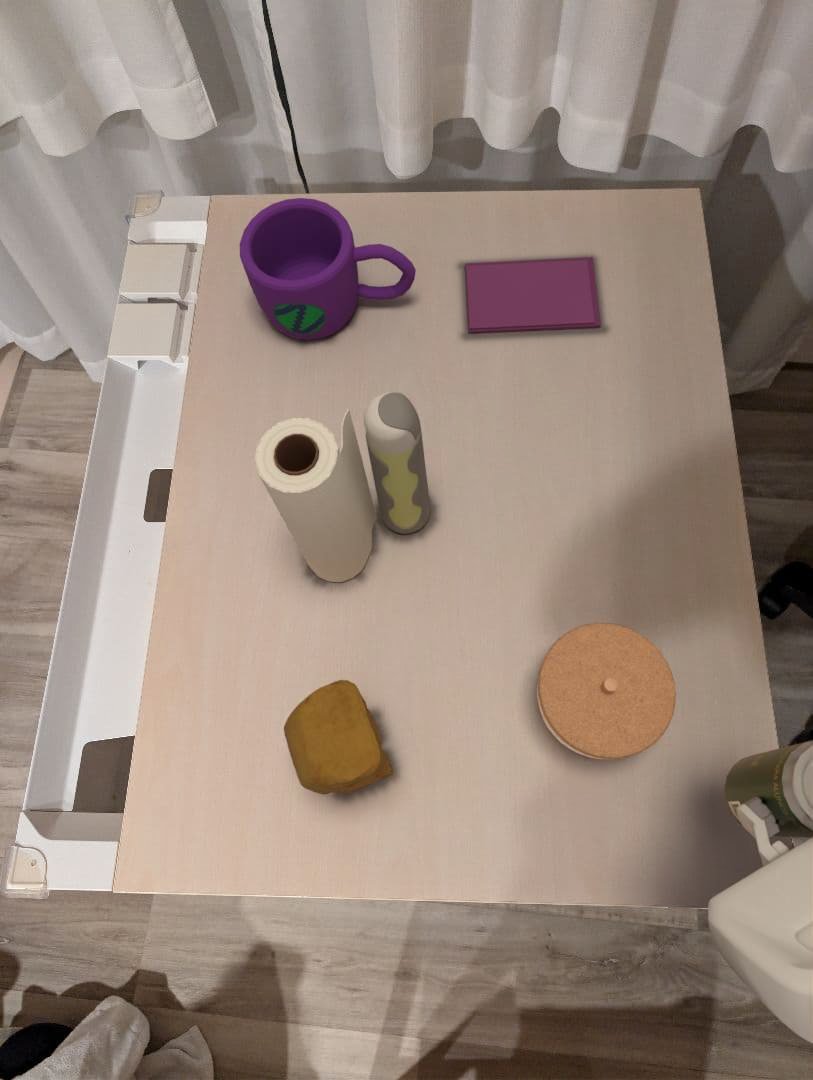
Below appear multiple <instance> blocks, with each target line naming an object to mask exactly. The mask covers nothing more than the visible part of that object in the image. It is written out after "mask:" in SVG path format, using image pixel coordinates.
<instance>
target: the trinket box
mask: <svg viewBox="0 0 813 1080" xmlns="http://www.w3.org/2000/svg"><path fill="white" fill-rule="evenodd" d="M674 679H675V678H674V675H673V673H672V671H671V668H670V665H669V664H668V661H667V660H666V658H665V657H664V655H663V653H662V652H661V651H660V650H659V648H658V647H657V646H656V645H654V643H653V642H651V641H650V640H649V639H648V638H647V637H645V636H644V635H642V634H640V633H639V632H638V631H636V630H633V629H631V628H629V627H627V626H624V625H621V624H618V623H617V624H616V623H610V622H593V623H587V624H583V625H581V626H578V627H575V628H573V629H570V630H569V631H567V632H566V633H565V634H562V636H560V637H558V638H557V640H556V641H555V642H554V643H553V644H552V645H551V647H550V648H549V650H548V651H547V652H546V654H545V656H544V658H543V660H542V663H541V665H540V669H539V672H538V677H537V686H536V687H537V688H536V697H537V699H536V700H537V703H538V709H539V713H540V715H541V717H542V720H543V722H544V723H545V725H546V728H547V730H549V732H550V733H551V734H552V736H553V737H554V738H555V739H556V740H558V741H559V743H561V745H563V746H564V747H566V748H568V750H570V751H573V752H574V753H576V754H579V755H581V756H584V757H587V758H591V759H598V760H619V759H624V758H629V757H632V756H635V755H638V754H640V753H642V752H644V751H645V750H648V749H649V748H650V747H652V746H653V745H654V744H655V743H657V742H658V741H659V740H660V739H661V737H662V736H663V735H664V734H665V732H666V731H667V729H668V728H669V726H670V724H671V721H672V719H673V717H674V712H675V708H676V698H677V695H676V694H677V693H676V683H675V680H674Z"/></svg>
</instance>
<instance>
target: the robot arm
mask: <svg viewBox="0 0 813 1080" xmlns="http://www.w3.org/2000/svg"><path fill="white" fill-rule="evenodd" d="M736 810H737V814H738V817H739V820H740V822H741V824H742V825H743V826H742V825H741V824H740V825H741V826H742V827H743V828H744V829H745V830H746V831H747V832H748V833H749V834H750V835H751V836H752V837H753V838H754V839H755V840H756V844H757V845H756V846H757V849H758V853H759V857H760V860H761V864H762V867H760V868H759V869H756V870H755V871H753V872H752V873H750V874H749V875H747V876H745V877H744V878H742V879H740V880H739V881H737V882H735V883H734V884H732V885H731V886H729V887H727V888H725V889H724V890H722V891H720V892H719V893H717V894H715V895H714V896H712V897H711V898H710V900H709V901H708V905H707V906H708V908H707V909H708V911H707V923H708V928H709V931H710V934H711V937H712V940H713V942H714V944H715V947H716V948H717V950H718V953H719V955H720V956H721V957H722V959H723V960H724V961H725V962H726V964H727V965H728V967H729V968H730V969H731V970H732V971H733V972H734V974H735V975H736V976H737V977H738V978H739V980H741V981H742V982H743V984H744V985H745V987H747V988H748V989H749V991H750V992H752V994H754V996H755V997H756V998H758V1000H759V1001H761V1003H762V1004H764V1006H765V1007H766V1008H767V1009H768V1010H769V1011H770V1012H771V1013H772V1014H774V1016H776V1017H777V1019H779V1020H780V1021H781V1022H782V1024H784V1025H785V1026H786V1027H787V1028H788V1029H789V1030H791V1031H792V1032H793V1033H794V1034H796V1035H797V1036H799V1037H800V1038H802V1039H803V1040H805V1041H807V1042H808V1043H810V1044H813V837H811V838H808V839H806V840H804V841H803V842H801V843H799V844H798V845H796V846H794V847H793V848H791V849H790V848H789V847H788V846H787V845H786V844H784V842H783V841H782V840H776V841H775V842H773V843H772V842H771V839H770V838H773V837H772V836H773V835H775V834H776V833H778V832H780V830H779V826H778V824H777V823H776V820H777V819H776V817H775V815H774V812H773V811H772V810H771V809H770V808H769V807H768V806H767V804H763V802H762V800H761V799H760V798H759V797H758V796H756V797H754V798H752V799H751V800H749V801H747V802H745V803H744V804H742V805H740V806H738V807H737V808H736Z"/></svg>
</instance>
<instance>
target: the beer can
mask: <svg viewBox="0 0 813 1080" xmlns="http://www.w3.org/2000/svg"><path fill="white" fill-rule="evenodd" d="M756 796H758V797H759V798H760V799H761V800H762V802H763V804H767V806H768V807H769V808H770V809H771V810H772V811H773V812H774V815H775V817H776V819H777V820H776V823H777V824H778V826H779V830H780V832H778V833H776V834H775V835H773V836H772V837H771V838H774V837H775V838H778V837H779V838H805V839H806V838H808V839H809V838H811V837H813V739H810V740H807V741H803V742H800V743H799V742H798V743H796V744H792V745H788V746H787V745H786V746H783V747H779V748H775V749H772V750H771V749H770V750H767V751H763V752H759V753H755V754H752V755H749V756H746V757H743V758H741V759H739V760H738V761H736V763H734V764H733V765H732V766H731V768H730V770H729V771H728V773H727V775H726V777H725V783H724V797H725V802H726V804H727V807H728V809H729V812H730V814H731V815H732V816H733V817H734V818H735V821H737V822H738V823H739V825H740V826H742V827H743V825H742V824H741V822H740V820H739V817H738V814H737V810H736V808H737V807H738V806H740V805H742V804H744V803H745V802H747V801H749V800H751V799H752V798H754V797H756Z"/></svg>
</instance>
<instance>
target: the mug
mask: <svg viewBox="0 0 813 1080" xmlns="http://www.w3.org/2000/svg"><path fill="white" fill-rule="evenodd" d="M239 258H240V259H239V260H240V261H241V264H242V267H243V269H244V272H245V274H246V277H247V280H248V282H249V285H250V288H251V291H252V293H253V294H254V297H255V299H256V301H257V303H258V305H259V307H260V309H261V311H262V312H263V313H264V315H265V317H266V318H267V320H268V321H269V322H270V324H271V325H272V326H273V327H274V328H275V329H277V330H278V331H279V332H281V333H283V334H284V335H286V336H288V337H291V338H294V339H298V340H308V341H309V340H317V339H318V340H319V339H322V338H325V337H328V336H331V335H333V334H334V333H336V332H338V331H339V330H341V329H342V328H343V327H344V326H345V325H346V324H347V323H348V322H349V320H350V319H351V318H352V315H353V314H354V312H355V310H356V308H357V305H358V299H359V297H360V298H363V299H366V300H374V301H383V300H393V299H396V298H399V297H402V296H404V295H405V294H406V293H407V292H408V291H409V290H410V289H411V287H412V286H413V284H414V281H415V279H416V272H417V270H416V267H415V265H414V264H413V262H412V261H411V260H410V259H409V258H408V256H406V255H405V254H404V253H402V252H401V251H400V250H397V249H396V248H394V247H393V246H390V245H386V244H383V243H374V244H373V243H372V244H365V245H361V246H356V245H355V239H354V234H353V231H352V229H351V226H350V224H349V221H348V220H347V218H346V217H345V216H344V215H343V214H342V213H341V211H340V210H338V209H337V208H335V207H334V206H332V205H330V204H329V203H327V202H324V201H322V200H318V199H316V198H305V197H296V198H288V199H283V200H280V201H277V202H273V203H271V204H270V205H268V206H266V207H264V208H262V209H260V211H259V212H258V213H257V214H255V215H254V216H253V217H252V218H251V219H250V220H249V222H248V224H246V226H245V228H244V229H243V231H242V235H241V238H240V242H239ZM376 259H382V260H385V261H387V262H389V263H391V264H392V265H393V266H395V267H396V268H397V269H398V270H399V271H401V273H402V274H401V276H400V278H399V280H398V281H397V282H396V283H395V284H392V285H387V286H374V285H368V284H365V283H360V281H359V269H358V262H364V261H368V260H376Z"/></svg>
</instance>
